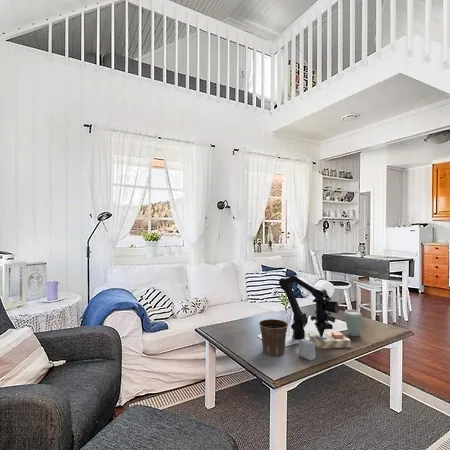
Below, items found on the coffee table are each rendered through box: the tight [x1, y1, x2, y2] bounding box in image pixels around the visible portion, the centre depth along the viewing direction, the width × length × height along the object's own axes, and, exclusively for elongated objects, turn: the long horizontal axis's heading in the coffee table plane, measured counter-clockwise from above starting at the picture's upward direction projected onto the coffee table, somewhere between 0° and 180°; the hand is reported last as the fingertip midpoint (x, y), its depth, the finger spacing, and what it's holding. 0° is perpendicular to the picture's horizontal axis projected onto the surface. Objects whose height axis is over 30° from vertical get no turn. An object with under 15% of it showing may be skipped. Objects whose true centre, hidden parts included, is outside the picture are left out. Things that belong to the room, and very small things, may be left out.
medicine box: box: [298, 338, 316, 361], centre depth 165 cm, size 8×4×9 cm, turn 33°
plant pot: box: [258, 318, 289, 357], centre depth 173 cm, size 16×16×16 cm
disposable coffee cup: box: [343, 309, 363, 337], centre depth 198 cm, size 11×11×15 cm
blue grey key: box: [316, 335, 327, 340], centre depth 183 cm, size 5×5×3 cm
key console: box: [309, 332, 351, 350], centre depth 183 cm, size 20×12×4 cm, turn 96°
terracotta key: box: [331, 331, 344, 339], centre depth 184 cm, size 5×5×3 cm
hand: (321, 336), depth 183 cm, fingers closed, pressing on blue grey key
